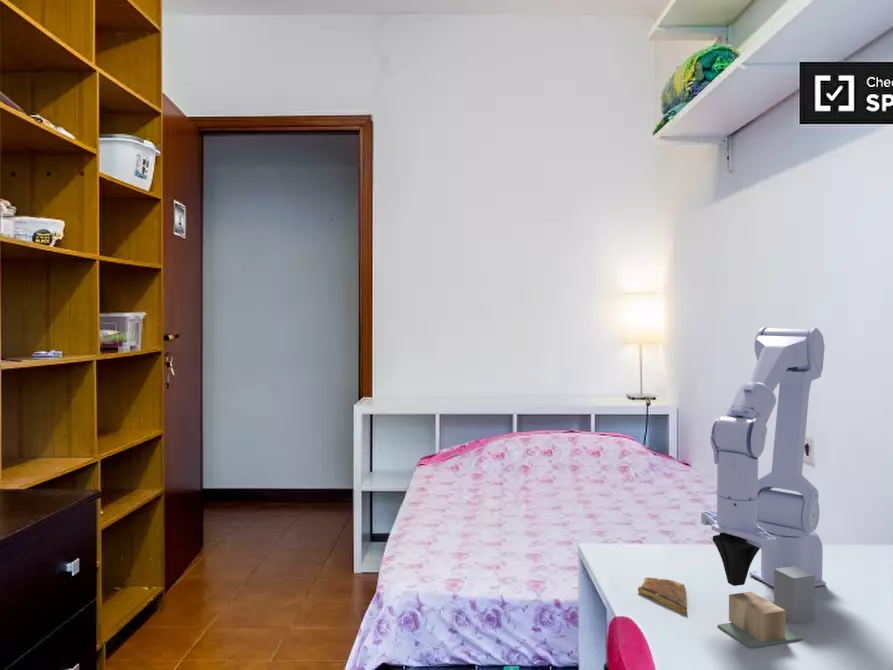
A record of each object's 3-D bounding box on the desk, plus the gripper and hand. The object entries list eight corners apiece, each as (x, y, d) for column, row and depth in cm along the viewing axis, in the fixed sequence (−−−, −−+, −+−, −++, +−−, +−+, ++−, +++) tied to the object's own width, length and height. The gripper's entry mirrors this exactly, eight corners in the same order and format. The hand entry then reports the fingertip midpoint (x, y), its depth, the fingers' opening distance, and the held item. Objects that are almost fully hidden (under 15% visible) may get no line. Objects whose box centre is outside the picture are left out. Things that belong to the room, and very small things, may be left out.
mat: (767, 618, 107) (767, 616, 107) (802, 639, 100) (802, 637, 100) (717, 626, 104) (717, 624, 104) (750, 648, 97) (750, 646, 97)
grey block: (794, 609, 110) (795, 566, 110) (814, 620, 106) (815, 575, 106) (773, 612, 109) (774, 568, 109) (793, 624, 105) (793, 578, 105)
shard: (686, 618, 108) (687, 606, 108) (635, 612, 111) (636, 600, 110) (685, 591, 119) (685, 580, 118) (639, 586, 121) (639, 575, 121)
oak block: (751, 591, 106) (785, 610, 100) (750, 617, 107) (785, 637, 100) (729, 594, 105) (762, 614, 99) (728, 620, 106) (761, 641, 99)
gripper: (685, 486, 112) (684, 569, 113) (748, 511, 98) (747, 606, 99) (722, 482, 114) (721, 564, 115) (789, 506, 100) (788, 600, 101)
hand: (736, 583), depth 107 cm, fingers closed
